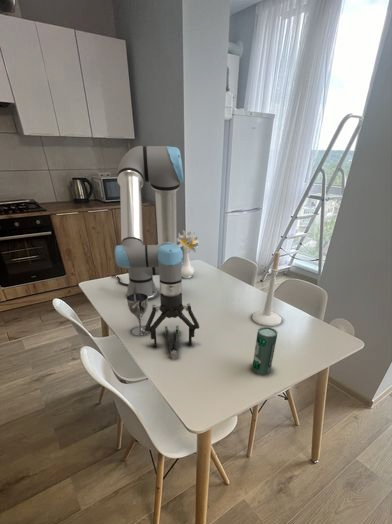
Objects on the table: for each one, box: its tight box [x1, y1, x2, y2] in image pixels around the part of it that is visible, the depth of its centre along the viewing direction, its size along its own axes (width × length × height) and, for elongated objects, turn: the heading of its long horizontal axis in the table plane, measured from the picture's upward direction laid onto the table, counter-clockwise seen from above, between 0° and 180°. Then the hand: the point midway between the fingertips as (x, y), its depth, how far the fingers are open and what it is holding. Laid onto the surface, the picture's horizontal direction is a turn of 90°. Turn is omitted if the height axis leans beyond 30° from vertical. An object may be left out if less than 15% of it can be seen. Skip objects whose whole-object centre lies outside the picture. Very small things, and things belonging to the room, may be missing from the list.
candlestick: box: [251, 251, 282, 327], centre depth 125 cm, size 13×13×30 cm
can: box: [251, 326, 279, 376], centre depth 98 cm, size 6×6×15 cm
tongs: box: [164, 325, 180, 360], centre depth 114 cm, size 19×6×3 cm, turn 7°
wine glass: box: [126, 293, 150, 336], centre depth 119 cm, size 8×8×15 cm
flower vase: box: [177, 229, 200, 279], centre depth 169 cm, size 13×18×25 cm
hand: (173, 344), depth 114 cm, fingers open, 12 cm apart
